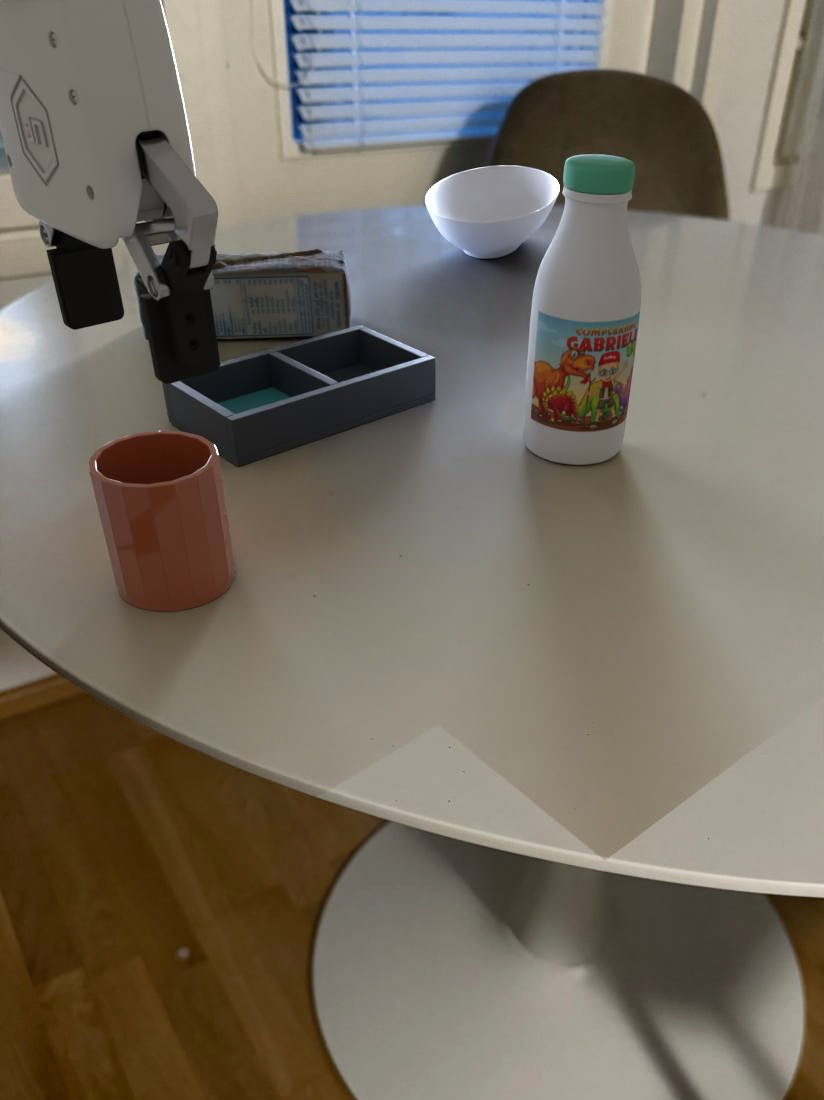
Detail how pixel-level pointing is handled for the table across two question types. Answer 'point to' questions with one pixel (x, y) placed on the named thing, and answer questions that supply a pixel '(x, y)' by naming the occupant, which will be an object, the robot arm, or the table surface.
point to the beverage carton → (276, 294)
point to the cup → (164, 519)
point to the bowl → (491, 207)
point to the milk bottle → (584, 319)
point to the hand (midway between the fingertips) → (139, 347)
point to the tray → (300, 392)
